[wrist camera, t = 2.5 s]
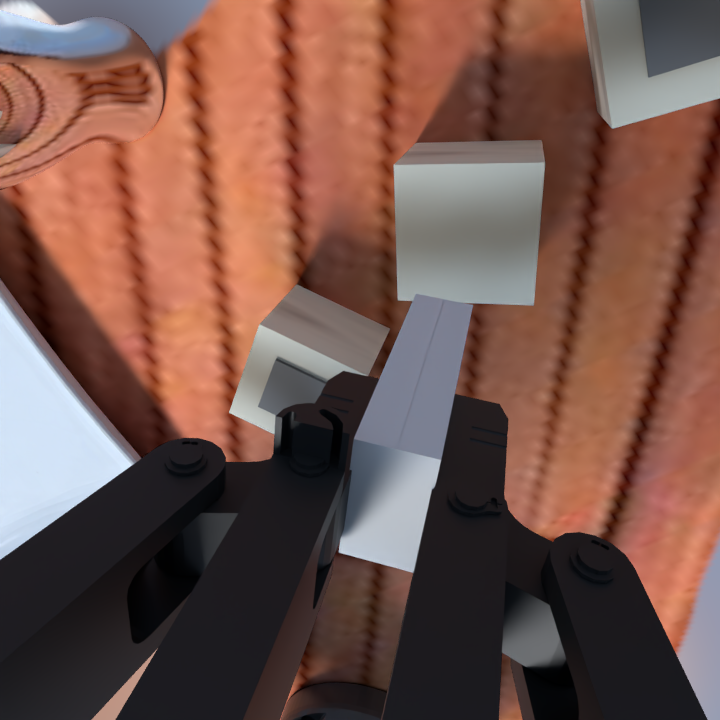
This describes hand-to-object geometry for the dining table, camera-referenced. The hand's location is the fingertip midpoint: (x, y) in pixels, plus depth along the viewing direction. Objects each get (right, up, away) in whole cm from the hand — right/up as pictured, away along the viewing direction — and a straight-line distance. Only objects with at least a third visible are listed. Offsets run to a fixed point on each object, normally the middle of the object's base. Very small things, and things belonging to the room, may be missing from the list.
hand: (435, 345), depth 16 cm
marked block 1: (-4, 0, +21) cm, 21 cm away
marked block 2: (+11, +14, +10) cm, 20 cm away
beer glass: (-15, +14, +16) cm, 27 cm away
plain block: (+4, +8, +15) cm, 17 cm away
